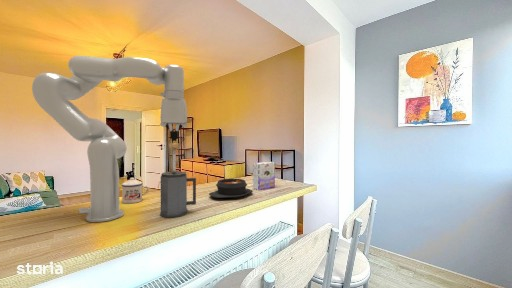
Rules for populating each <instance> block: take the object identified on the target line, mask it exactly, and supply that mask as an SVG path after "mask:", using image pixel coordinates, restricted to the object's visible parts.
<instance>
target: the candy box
mask: <svg viewBox="0 0 512 288" xmlns="http://www.w3.org/2000/svg"><path fill="white" fill-rule="evenodd" d="M275 166H276V163H275V162H274V161H263V162H262V161H261V162H260V161H259V162H254V163H253V164H252V173H253V174H252V189H253V190H255V189H256V190H255V191H262V189H263V190H267V189H273V187H274V188H275V187H276V180H275V178H276V177H275V176H276V175H275V174H276V172H275V171H276V167H275Z"/></svg>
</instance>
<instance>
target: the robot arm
mask: <svg viewBox="0 0 512 288" xmlns="http://www.w3.org/2000/svg"><path fill="white" fill-rule="evenodd" d="M67 66H68V69H69V71H70V72H71V74H72V76H70V77H66V76H64V75H62V74H58V73H55V72H42V73H41V72H40V73H39V74H37V75H36V76H35V77H34V79H33V81H32V84H31V91H32V97H34V100H35V102H36V103H37V105H38V106H39V107H40V108H41V109H42V110H43V111H44V112H45V113H46V114H47V115H49V116H50V118H52V119H53V120H54V121H55V122H56V123H57V125H59V126H60V127H62V128H63V129H64V130H65V132H67V133H68V134H69V135H70V136H71V137H72V138H73V139H74V140H76V141H78V142H79V141H80V142H90V143H89V145H88V147H87V150H86V151H87V158H88V163H89V177H90V178H89V179H90V181H89V182H90V186H89V189H90V206H88V207H80V208H78V213H79V214H80V215H82V214H83V215H84V214H86V216H85V221H86V222H89V223H102V222H109V221H112V220H116V219H119V218H121V217H122V216H123V215H124V214H125V213H124V211H125V210H122V209H121V208H120V169H119V164H118V163H119V162H118V159H121V158H122V157H123V156H125V155H126V153H127V144H126V142H125V141H124V140H123V139H122V137H120V136H119V134H118V133H116V132H115V131H114V130H113V129H112V128H111V127H110V126H109V125H108V124H106V123H105V122H104V121H102V120H100V119H97V118H92V117H89V116H88V115H86V114H85V113H83V111H81V110H80V109H79V108H78V107H77V106H76V105H75V104H74V103H73V102H72V101H75V100H79V99H80V98H82V97H83V96H85V95H86V94H87V93H89V92H90V91H92V90H94V88H96V87H97V86H98V85H100V84H101V83H102V82H103V81H107V82H120V81H121V80H122V79H123V78H139V79H146V80H147V81H148V82H149V83H151V84H152V85H155V86H162V85H163V86H164V87H163V88H164V91H163V92H160V97H162V99H161V104H160V105H161V106H160V124H159V125H160V126H161V127H164V128H167V129H168V130H169V131H170V132H169V133H170V137H169V139H171V142H177V140H179V131H180V130H181V129H183V128H186V127H188V126H189V125H188V122H187V121H188V109H187V100H186V99H185V97H184V95H185V94H184V93H185V91H184V89H185V82H184V81H185V80H184V79H185V72H184V71H185V70H184V68H183V67H182V66H180V65H178V64H167V65H166V66H165V67H162V66H161V65H160V64H159V63H158V62H157V61H156V60H154V59H150V58H145V57H137V56H125V57H117V58H109V57H99V56H98V57H97V56H87V55H75V56H73V57H70V59H69V60H68V65H67ZM173 125H175V129H174V127H173Z"/></svg>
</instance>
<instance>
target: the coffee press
mask: <svg viewBox="0 0 512 288" xmlns="http://www.w3.org/2000/svg"><path fill="white" fill-rule="evenodd" d="M160 181H161V183H160V212H159V213H160V214H159V216H160V217H162V218H164V219H175V218H180V217H183V216H185V215H188V213H189V211H188V206H192V205H193V206H195V205H196V204H197V178H196V177H188V174H187V172H186V171H180V170H179V171H176V173H175V174H173V171H165V172H162V173H161V176H160ZM188 182H192V200H189V201H188V197H187V195H188V194H187V193H188V191H187V190H188V189H187V188H188V185H187V184H188Z"/></svg>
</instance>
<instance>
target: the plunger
mask: <svg viewBox="0 0 512 288" xmlns="http://www.w3.org/2000/svg"><path fill="white" fill-rule="evenodd" d="M179 145H180V144H179V143H178V142H169V149H172V172H173V174H175V173H176V170H177V169H176V168H177V164H176V161H177V160H176V157H177V155H176V149H179V148H180V147H179Z"/></svg>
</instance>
